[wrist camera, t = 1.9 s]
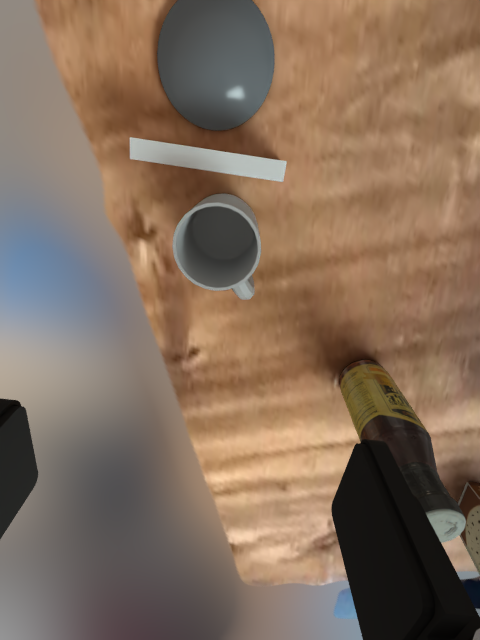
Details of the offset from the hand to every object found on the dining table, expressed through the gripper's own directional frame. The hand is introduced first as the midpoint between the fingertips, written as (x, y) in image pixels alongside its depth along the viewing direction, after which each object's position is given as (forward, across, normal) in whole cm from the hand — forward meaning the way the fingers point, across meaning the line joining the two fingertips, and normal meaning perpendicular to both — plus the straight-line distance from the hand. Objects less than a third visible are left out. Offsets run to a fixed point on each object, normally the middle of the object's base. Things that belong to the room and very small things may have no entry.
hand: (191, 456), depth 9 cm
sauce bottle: (+29, -19, +15) cm, 37 cm away
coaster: (+28, +3, -15) cm, 32 cm away
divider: (+28, +2, -8) cm, 30 cm away
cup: (+29, 0, 0) cm, 29 cm away
